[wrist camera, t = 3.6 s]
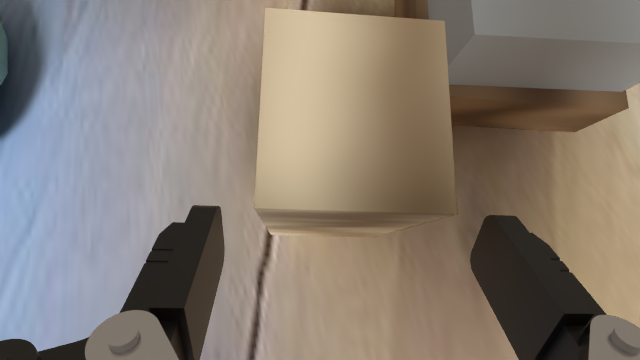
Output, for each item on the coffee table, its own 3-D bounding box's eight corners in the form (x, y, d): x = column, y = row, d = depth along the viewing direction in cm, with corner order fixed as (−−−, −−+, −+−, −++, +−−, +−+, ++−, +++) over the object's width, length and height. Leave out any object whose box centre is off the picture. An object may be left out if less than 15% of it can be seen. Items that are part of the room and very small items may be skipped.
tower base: (395, 124, 22) (419, 94, 18) (391, -33, 24) (412, -89, 20) (569, 134, 23) (628, 107, 19) (549, -18, 25) (597, -70, 21)
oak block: (270, 234, 19) (254, 208, 10) (276, 127, 21) (265, 7, 11) (373, 237, 20) (457, 213, 10) (372, 131, 21) (444, 20, 11)
